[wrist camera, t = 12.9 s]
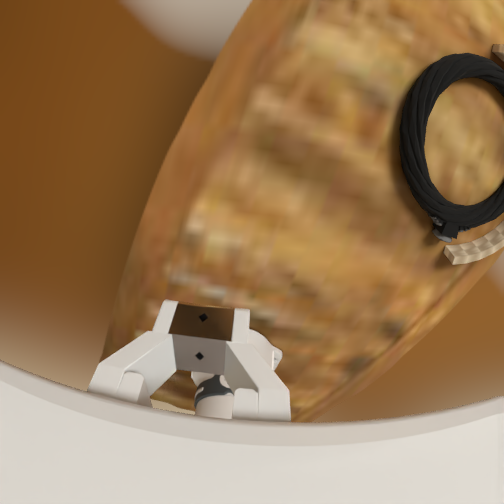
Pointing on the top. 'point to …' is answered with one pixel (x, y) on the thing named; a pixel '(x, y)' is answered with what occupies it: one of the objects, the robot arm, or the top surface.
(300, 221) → the top surface
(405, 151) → the cable lock
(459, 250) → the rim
